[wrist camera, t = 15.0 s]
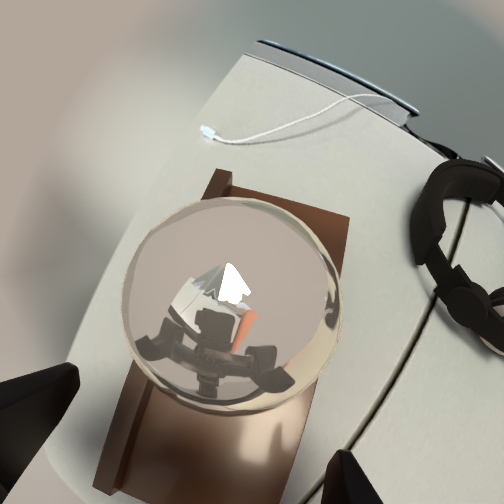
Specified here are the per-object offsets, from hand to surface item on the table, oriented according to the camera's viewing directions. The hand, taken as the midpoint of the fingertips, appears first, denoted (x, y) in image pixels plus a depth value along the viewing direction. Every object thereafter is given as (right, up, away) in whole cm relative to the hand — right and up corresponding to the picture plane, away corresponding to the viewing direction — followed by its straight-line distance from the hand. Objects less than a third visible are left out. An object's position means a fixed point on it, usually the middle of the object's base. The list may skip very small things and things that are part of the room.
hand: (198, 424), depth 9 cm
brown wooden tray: (+1, -2, +12) cm, 13 cm away
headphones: (+25, +4, +17) cm, 30 cm away
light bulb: (+1, 0, +9) cm, 9 cm away
